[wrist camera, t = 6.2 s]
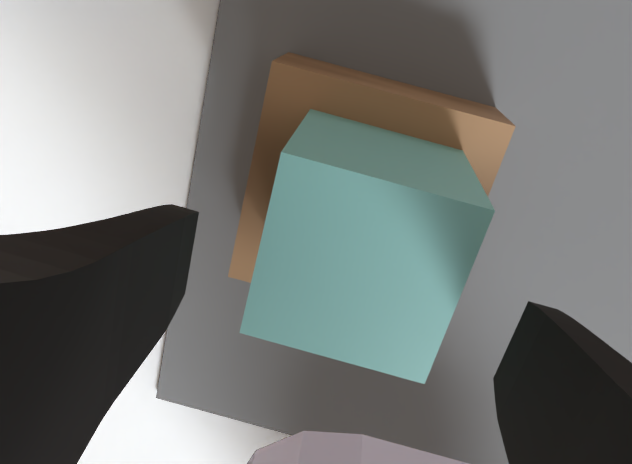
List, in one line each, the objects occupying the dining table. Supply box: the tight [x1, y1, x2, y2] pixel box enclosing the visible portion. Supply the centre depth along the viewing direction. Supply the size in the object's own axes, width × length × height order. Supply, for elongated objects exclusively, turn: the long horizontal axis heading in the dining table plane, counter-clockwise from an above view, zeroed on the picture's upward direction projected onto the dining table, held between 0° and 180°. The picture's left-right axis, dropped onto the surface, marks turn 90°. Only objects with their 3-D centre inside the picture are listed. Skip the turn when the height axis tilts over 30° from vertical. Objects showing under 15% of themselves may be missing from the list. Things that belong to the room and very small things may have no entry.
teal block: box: [240, 109, 495, 384], centre depth 15 cm, size 4×4×5 cm
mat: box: [156, 0, 632, 464], centre depth 21 cm, size 20×24×1 cm
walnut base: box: [228, 52, 516, 283], centre depth 18 cm, size 7×7×3 cm
